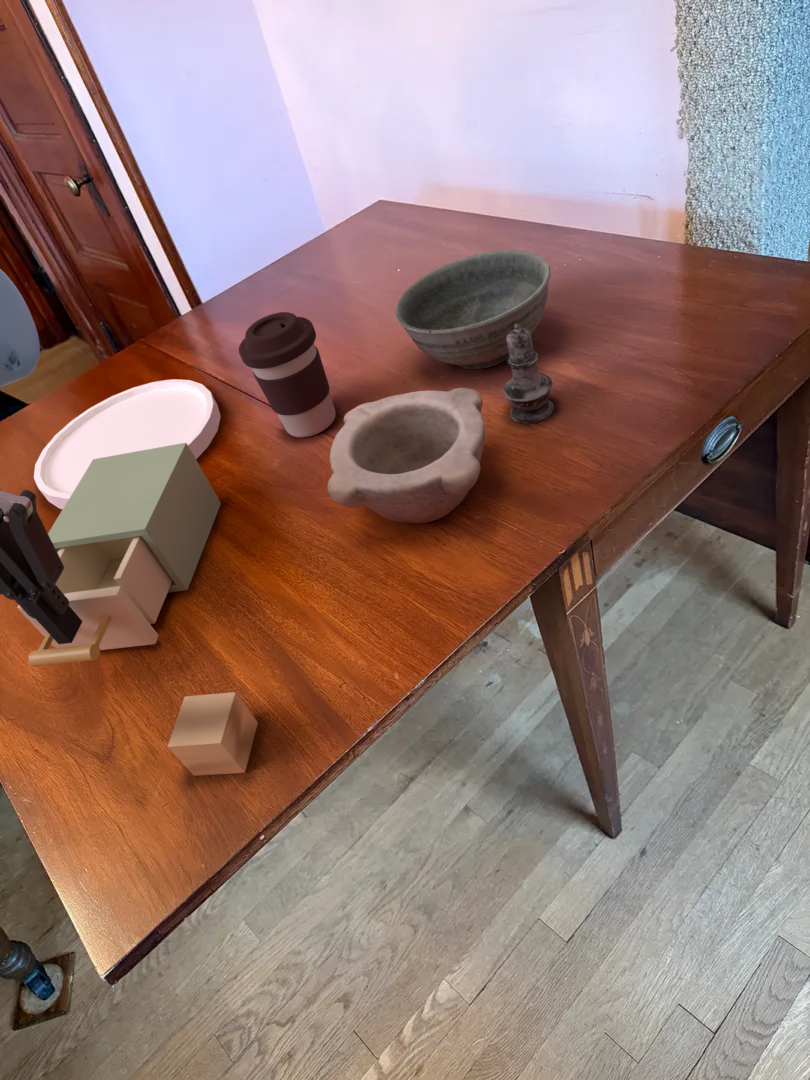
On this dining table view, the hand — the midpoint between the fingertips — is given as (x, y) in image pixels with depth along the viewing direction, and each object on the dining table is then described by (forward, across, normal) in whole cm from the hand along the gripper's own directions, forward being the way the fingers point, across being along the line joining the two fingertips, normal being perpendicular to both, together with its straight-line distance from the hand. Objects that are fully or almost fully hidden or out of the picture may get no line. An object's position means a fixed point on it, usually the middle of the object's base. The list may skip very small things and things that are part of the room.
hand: (70, 632), depth 74 cm
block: (+7, -17, +10) cm, 21 cm away
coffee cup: (+6, -16, -40) cm, 43 cm away
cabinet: (+6, 0, -18) cm, 19 cm away
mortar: (+7, -33, -20) cm, 40 cm away
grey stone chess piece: (+7, -46, -34) cm, 57 cm away
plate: (+6, +13, -42) cm, 44 cm away
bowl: (+6, -40, -50) cm, 64 cm away
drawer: (+6, 0, -6) cm, 8 cm away
